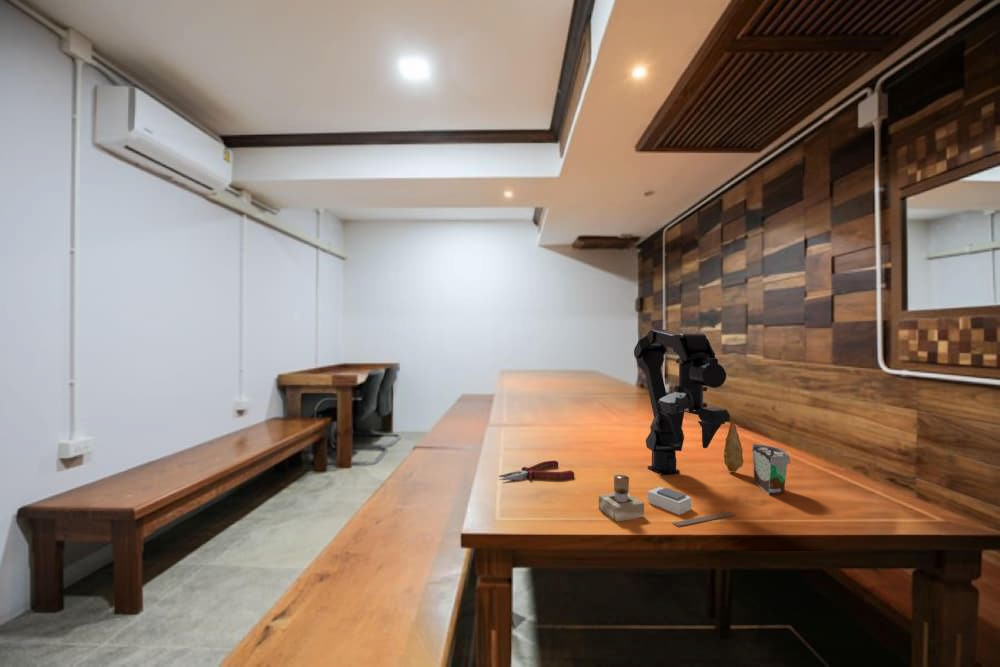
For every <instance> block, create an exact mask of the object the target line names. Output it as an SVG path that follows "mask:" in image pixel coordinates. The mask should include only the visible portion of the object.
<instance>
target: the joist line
mask: <svg viewBox="0 0 1000 667" xmlns="http://www.w3.org/2000/svg"><path fill="white" fill-rule="evenodd" d="M735 515H736V514H735V513H733V512H731V511H725V512H720V513H715V514H710V515H706V516H704V515H703V516H699V517H694V518H691V519H684V520H680V521H675V522H672V524H673V526H675V527H678V528H679V527H683V526H689V525H694V524H699V523H704V522H709V521H713V520H718V519H723V518H728V517H733V516H735Z"/></svg>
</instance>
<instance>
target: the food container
mask: <svg viewBox="0 0 1000 667" xmlns="http://www.w3.org/2000/svg"><path fill="white" fill-rule="evenodd" d="M751 452H752V459H753V460H752V462H753V464H752V465H753V483H755V484H756V485H757V486H758V487H759V488H760V489H762V491H764V492H765V493H766V495H767V496H781V495H784V493H785V488H786V480H787V479H786V477H787V467H788V465H790V464H791V459H790V455H789V454H788V452H787V451H786V450H784V449H781V448H779V447H775V446H771V445H765V444H759V443H758V444H756V443H752V449H751Z"/></svg>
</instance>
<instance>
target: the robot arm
mask: <svg viewBox="0 0 1000 667" xmlns="http://www.w3.org/2000/svg"><path fill="white" fill-rule="evenodd" d="M668 348H672V351H673V353H675V354H676V355H678V356H679V357H678V358H677V359H676V360H675V363H676V364H678V366H679V367H678V385H675V386H674V388H673V390H674V391H673V392H672V393H669V394H667V390H666V385H665V380H664V377H663V372H662V366H663V364H664V361H665V355H666V353H667V352H668ZM633 355H634V356H633V357H634V358H635V361H636V364H637V366H638V367H639V368H640V369H641V370H642V371H643V372H644V375H645V380H646V386H647V390H648V396H649V399H650V403H651V409H652V414H653V419H652V422H651V424H650V432H649V433H648V436H647V437H646V438H645V445H646V448H647V449H648V450H650V451H651V465H647V469H650V470H652V471H654V472H655V473H657V474H660V475H662V476H663V475H670V474H676V473H678V474H679V473H680V469H678V468H677V457H676V456H677V454H676V453H677V452H682V449H683V445H684V440H685V434H684V431H683V422H684V417H685V416H684V415H685V413H686V414H687V413H689V414H691V415H695V416H698V418H699V420H697V423H698V424H699V426H700V427H701V442H702V448H703V449H707V448H708V447H709V445H710V444H711V443H712V440H713V438H714V437H715V435H716V433H717V432H718V430H719V429H720V427H721V426H722V425H726V423H727V422H729V423H730V422H731V421H730V420H731V415H730V412H729V411H728V409H725V408H721V407H720V408H719V407H715V406H714V407H713V406H712V407H708V403H707V402H704V392H707V391H708V388H713V389H717V388H720V387H721V386H722V385H723V384H724V383H725V382H726V379H727V373H726V370H725V368H724V366H722V365H721V364H719V359H718V358H717V357H716V353H715V351H714V350H713V348H712V345H711V342H710V341H709V339H708V337H707V335H706V334H704V333H678V332H677V333H676V332H673V331H669V330H666V329H658V328H657V329H656V328H655V329H651V330H648V333H647V334H646V335H645V336H644V337H642V338H641V339H639V340H638V342H637V343H636V344H635V347H634V349H633Z"/></svg>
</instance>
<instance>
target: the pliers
mask: <svg viewBox="0 0 1000 667" xmlns="http://www.w3.org/2000/svg"><path fill="white" fill-rule="evenodd" d="M546 468H547V469H553V468H554V469H555V468H559V462H558V461H557V460H547V461H542V462H538V463H537V464H534V465H532V466H530V467H528V466H523V467H521V470H516V471H512V472H508V473H504V474H500V475H498V478H502V481H518V480H519V481H521V480H524V479H525V478H526V479H529V481H533V480H546V481H547V480H549V481H565V480H571V479H572V480H573V479H575V472H574V471H573V470H565V471H547V469H546Z"/></svg>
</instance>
